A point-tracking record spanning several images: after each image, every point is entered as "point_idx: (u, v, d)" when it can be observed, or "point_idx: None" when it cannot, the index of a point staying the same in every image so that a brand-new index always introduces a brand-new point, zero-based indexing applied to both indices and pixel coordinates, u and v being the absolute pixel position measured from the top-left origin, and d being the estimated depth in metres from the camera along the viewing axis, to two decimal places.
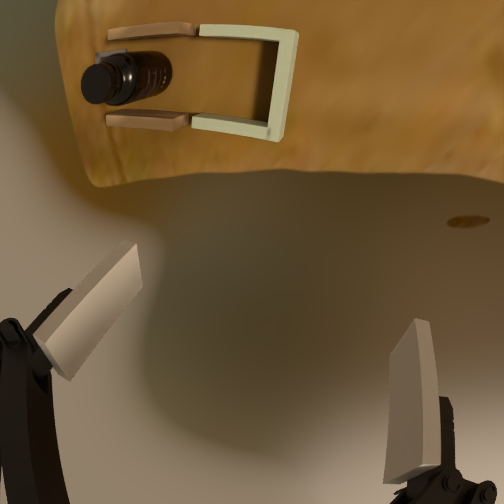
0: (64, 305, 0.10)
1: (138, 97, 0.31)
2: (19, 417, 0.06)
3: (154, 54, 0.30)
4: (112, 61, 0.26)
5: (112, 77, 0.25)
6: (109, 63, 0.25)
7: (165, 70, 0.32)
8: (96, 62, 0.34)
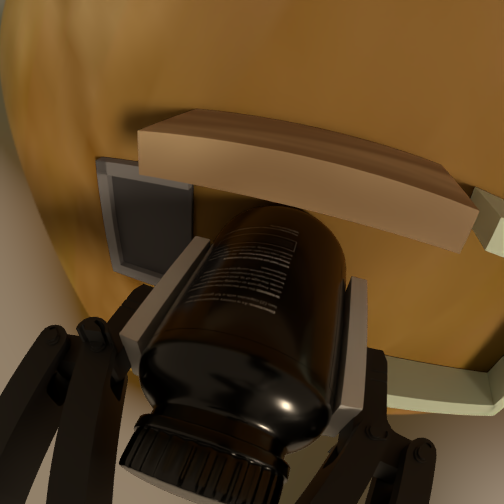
0: (150, 301, 0.11)
1: None
2: (85, 426, 0.07)
3: (324, 258, 0.11)
4: (236, 408, 0.07)
5: None
6: (245, 458, 0.06)
7: None
8: (102, 186, 0.16)
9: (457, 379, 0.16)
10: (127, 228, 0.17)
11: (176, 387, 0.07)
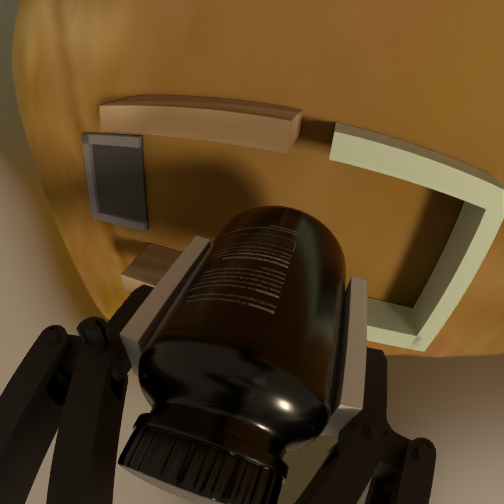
0: (150, 301, 0.11)
1: None
2: (85, 426, 0.07)
3: (323, 258, 0.12)
4: (234, 407, 0.07)
5: None
6: (243, 457, 0.06)
7: None
8: (85, 152, 0.21)
9: (375, 307, 0.21)
10: (102, 182, 0.23)
11: (175, 386, 0.07)
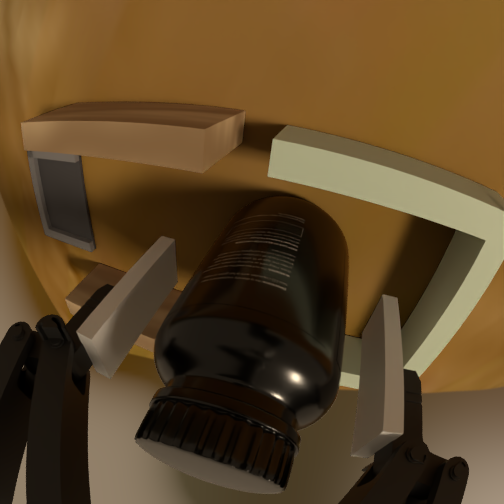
0: (108, 300, 0.10)
1: None
2: (52, 419, 0.06)
3: (329, 243, 0.12)
4: (251, 377, 0.08)
5: None
6: (260, 424, 0.07)
7: None
8: (31, 167, 0.18)
9: None
10: (49, 198, 0.20)
11: (193, 359, 0.08)
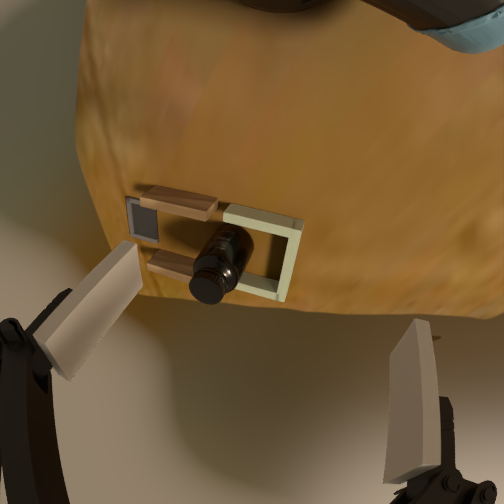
0: (64, 305, 0.10)
1: None
2: (19, 417, 0.06)
3: (241, 239, 0.44)
4: (215, 266, 0.39)
5: (222, 290, 0.38)
6: (216, 274, 0.38)
7: (250, 252, 0.45)
8: (128, 206, 0.50)
9: (258, 279, 0.50)
10: (136, 220, 0.51)
11: (203, 263, 0.40)
